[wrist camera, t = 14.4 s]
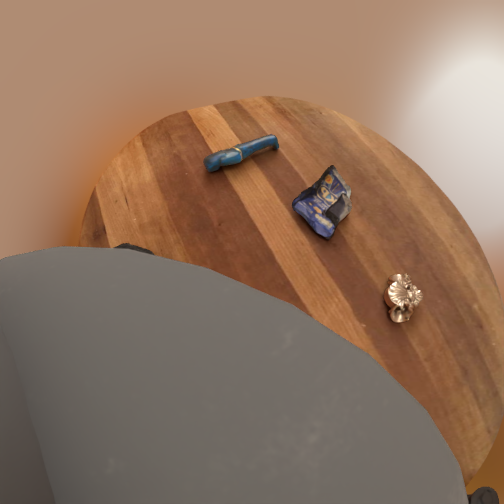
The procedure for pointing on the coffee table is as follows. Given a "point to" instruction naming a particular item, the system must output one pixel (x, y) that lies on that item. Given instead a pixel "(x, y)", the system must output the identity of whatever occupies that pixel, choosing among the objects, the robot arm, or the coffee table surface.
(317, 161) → the coffee table surface
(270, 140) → the blue long piece
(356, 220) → the coffee table surface
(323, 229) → the snack package
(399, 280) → the ornament
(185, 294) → the water bottle
